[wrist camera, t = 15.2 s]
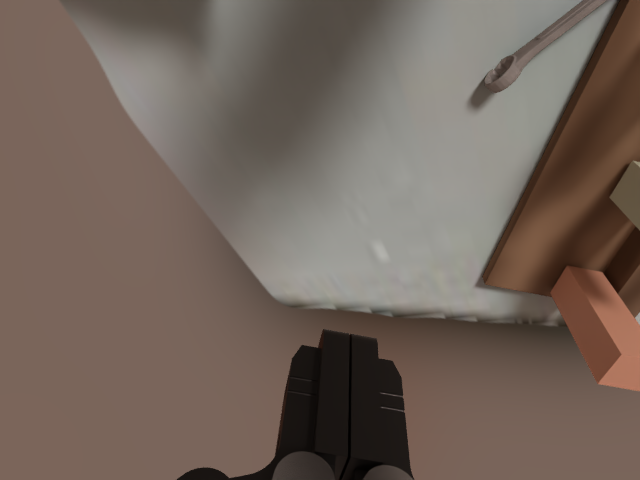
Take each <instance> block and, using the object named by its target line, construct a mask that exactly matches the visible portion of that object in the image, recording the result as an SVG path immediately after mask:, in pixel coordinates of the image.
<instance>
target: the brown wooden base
mask: <svg viewBox="0 0 640 480" xmlns="http://www.w3.org/2000/svg"><path fill="white" fill-rule="evenodd" d="M632 161H637V162H640V0H620V1H619V3H618V5H617V7H616V9H615V11H614V13H613V15H612V17H611V19H610V21H609V23H608V25H607V27H606V29H605V31H604V33H603V35H602V37H601V39H600V41H599V43H598V45H597V47H596V49H595V51H594V53H593V55H592V57H591V59H590V62H589V64H588V66H587V68H586V70H585V72H584V74H583V76H582V78H581V80H580V82H579V84H578V86H577V88H576V90H575V92H574V94H573V96H572V98H571V100H570V102H569V104H568V106H567V108H566V110H565V112H564V114H563V116H562V118H561V120H560V122H559V124H558V126H557V128H556V130H555V132H554V134H553V136H552V138H551V140H550V142H549V144H548V146H547V148H546V150H545V152H544V154H543V156H542V158H541V160H540V162H539V164H538V166H537V168H536V170H535V172H534V174H533V176H532V178H531V180H530V182H529V184H528V186H527V188H526V190H525V192H524V194H523V196H522V198H521V200H520V202H519V204H518V206H517V208H516V210H515V212H514V214H513V216H512V218H511V220H510V222H509V224H508V226H507V228H506V230H505V232H504V234H503V236H502V238H501V240H500V242H499V244H498V246H497V248H496V250H495V252H494V254H493V256H492V258H491V260H490V262H489V264H488V266H487V268H486V270H485V272H484V274H483V276H482V277H483V280H484V283H485V284H486V285H491V286H496V287H502V288H507V289H512V290H518V291H523V292H528V293H534V294H539V295H544V296H550V297H552V296H551V294H550V292H551V290H552V289H553V287H554V286H555V284H556V282H557V281H558V279H559V278H560V276H561V274H562V273H563V271H564V270H565V268H566V266H567V265H568V266H573V267H578V268H583V269H589V270H594V271H599V272H603V274H604V275H605V277H606V278H607V280H608V281H609V282H610V284H611V285H612V287H613V288H614V290H615V291H616V292H617V294H618V295H619V297H620V298H621V300H622V301H623V302H624V304H625V305H626V307H627V308H628V310H629V311H630V312H631V314H632V315H633V317H634V318H635V317H636V316H637V315H638V313H639V312H640V230H639V229H638V228H637V227H636V226H635V225H634V224H633V223H632V222H631V221H630V219H629V218H628V217H627V216H626V215H625V214H624V213H623V212H622V211H621V210H620V209H619V207H618V206H617V205H616V204H615V203H614V202H613V201H612V200H611V199H610V198H609V197H610V196H611V194H612V193H613V191H614V189H615V188H616V186H617V184H618V183H619V181H620V180H621V178H622V176H623V175H624V173H625V172H626V170H627V168H628V167H629V165H630V164H631V162H632Z"/></svg>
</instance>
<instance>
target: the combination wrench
mask: <svg viewBox="0 0 640 480" xmlns="http://www.w3.org/2000/svg"><path fill="white" fill-rule="evenodd" d="M605 1H607V0H583V1H582V2H581V3H579V4H578V5H577V6H575V7H574V8H573V9H571V10H570V11H569V12H568V13H566V14H565V15H564V16H562V17H561V18H560V19H558V20H557V21H556V22H555V23H553V24H552V25H551V26H549V27H548V28H547V29H545V30H544V31H543V32H542V33H540V34H539V35H538V36H536V37H535V38H534V39H532V40H531V41H530V42H529V43H527V44H526V45H525V46H523V47H522V48H520V49H519V50H518V51H516V52H515V53H514V54H512V55H510V56H507V57H505V58H504V59H502V60H501V61H500V62H499V64H498V65H497V66H496V68H495V69H494V70H493V69H492V70H491V71H489V73H488V74H487V76H486V78H485V81H484V83H485V86H486V87H487V88H488V89H489V90H490V91H491V92H493V93H497V92H500V91H502V90H504V89H506V88H507V87H509V86H510V85H511V84H512V83H513V82H514V81H515V80H516V79H517V78H518V76H519V75H520V73H521V71H522V69H523V68H524V67H525V65H526V64H527V63H528V62H529V61H530V60H531V59H532V58H533V57H534V56H535V55H536V54H537V53H538V52H540V51H541V50H542V49H544V48H545V47H546V46H547V45H549V44H550V43H551V42H553V41H554V40H555V39H557V38H558V37H559V36H561V35H562V34H563V33H565V32H566V31H567V30H568V29H570V28H571V27H572V26H574V25H575V24H576V23H578V22H579V21H580V20H582V19H583V18H584V17H586V16H587V15H588V14H589V13H591V12H592V11H593V10H595V9H596V8H597V7H599V6H600V5H601V4H603V3H604V2H605ZM505 71H506V72H505ZM504 72H505V73H504ZM503 73H504V74H503ZM501 74H503V75H502V76H501V77H500V76H499V75H501ZM499 77H500V78H499Z"/></svg>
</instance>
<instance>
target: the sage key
mask: <svg viewBox="0 0 640 480" xmlns="http://www.w3.org/2000/svg"><path fill="white" fill-rule="evenodd" d="M609 198H610V199H611V200H612V201H613V202H614V203H615V204H616V205H617V206H618V207H619V209H620V210H621V211H622V212H623V213H624V214H625V215H626V216H627V217H628V218H629V219H630V221H631V222H632V223H633V224H634V225H635V226H636V227H637V228H638V229H639V230H640V162H637V161H632V162H631V164H630V165H629V167H628V168H627V170H626V172H625V173H624V175H623V176H622V178H621V180H620V181H619V183H618V184H617V186H616V188H615V189H614V191H613V193H612V194H611V196H610V197H609Z"/></svg>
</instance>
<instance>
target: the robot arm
mask: <svg viewBox="0 0 640 480" xmlns="http://www.w3.org/2000/svg"><path fill="white" fill-rule="evenodd" d="M403 400H404V399H403V389H402V379H401V376H400V374H399V372H398V370H397V368H396V367H395V365H394V363H393V361H390V360H385V359H379V358H378V343H377V339H376V338H371V337H365V336H360V335H354V334H350V335H349V334H348V333H342V332H337V331H331V330H326V329H323V331H322V334H321V338H320V342H319V346H318V348H316V347H309V346H304V345H302V346H301V347H300V348H299V350H298V351H297V353H296V354H295V356H294V357H293V358H292V362H291V366H290V371H289V375H288V380H287V384H286V389H285V394H284V400H283V406H282V414H281V420H280V427H279V433H278V440H277V446H276V453H275V457H274V459H273V460H272V461H271V463H270V464H269V465H267V466H266V467H265V468H264V469H262V470H260V471H258V472H256V473H253V474H250V475H245V476H240V477H234V478H228V477H227V476H226V475H225V474H224V473H222V472H221V471H219V470H216V469H213V468H197V469H194V470H191V471H189V472H187V473H185V474H184V475H182V476H181V477H180V478H178V479H177V480H414V478H413V476H412V472H411V468H410V460H409V450H408V439H407V430H406V420H405V413H404V401H403Z"/></svg>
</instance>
